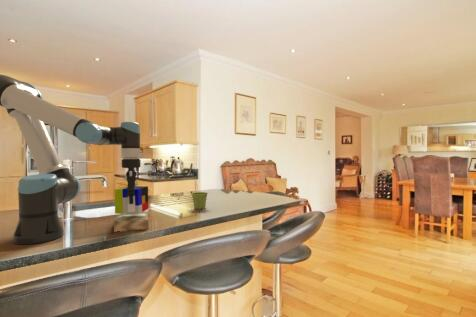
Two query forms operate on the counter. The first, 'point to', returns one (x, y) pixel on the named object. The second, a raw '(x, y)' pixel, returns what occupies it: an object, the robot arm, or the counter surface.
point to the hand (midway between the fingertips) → (132, 208)
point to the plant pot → (199, 200)
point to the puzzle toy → (122, 200)
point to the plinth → (131, 222)
